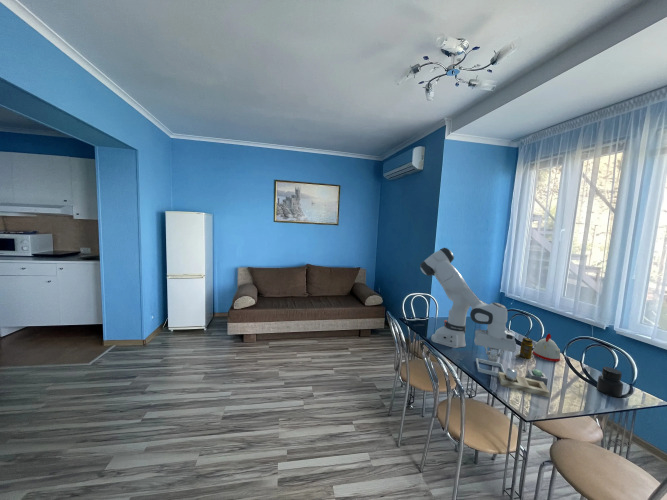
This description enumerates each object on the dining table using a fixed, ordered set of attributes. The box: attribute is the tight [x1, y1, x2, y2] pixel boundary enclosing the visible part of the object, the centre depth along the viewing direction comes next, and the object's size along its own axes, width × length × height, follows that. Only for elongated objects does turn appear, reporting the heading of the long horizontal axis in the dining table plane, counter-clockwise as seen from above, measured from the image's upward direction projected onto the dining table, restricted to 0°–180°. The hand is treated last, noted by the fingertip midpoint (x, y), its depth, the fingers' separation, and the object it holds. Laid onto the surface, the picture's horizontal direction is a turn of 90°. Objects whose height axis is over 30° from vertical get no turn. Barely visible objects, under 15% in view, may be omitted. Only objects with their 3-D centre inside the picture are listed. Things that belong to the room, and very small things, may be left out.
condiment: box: [515, 337, 534, 362], centre depth 171 cm, size 7×8×12 cm
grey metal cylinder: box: [487, 348, 500, 363], centre depth 152 cm, size 4×4×7 cm
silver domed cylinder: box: [506, 367, 518, 382], centre depth 139 cm, size 4×4×7 cm
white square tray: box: [475, 357, 506, 377], centre depth 153 cm, size 13×13×2 cm
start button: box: [532, 368, 543, 377], centre depth 144 cm, size 4×4×3 cm
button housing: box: [526, 368, 549, 386], centre depth 144 cm, size 7×7×4 cm
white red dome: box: [532, 333, 561, 362], centre depth 174 cm, size 14×14×15 cm
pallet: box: [497, 371, 551, 398], centre depth 137 cm, size 20×10×3 cm, turn 67°
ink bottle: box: [596, 366, 624, 398], centre depth 136 cm, size 10×9×12 cm
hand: (493, 355), depth 152 cm, fingers closed on grey metal cylinder, 4 cm apart
